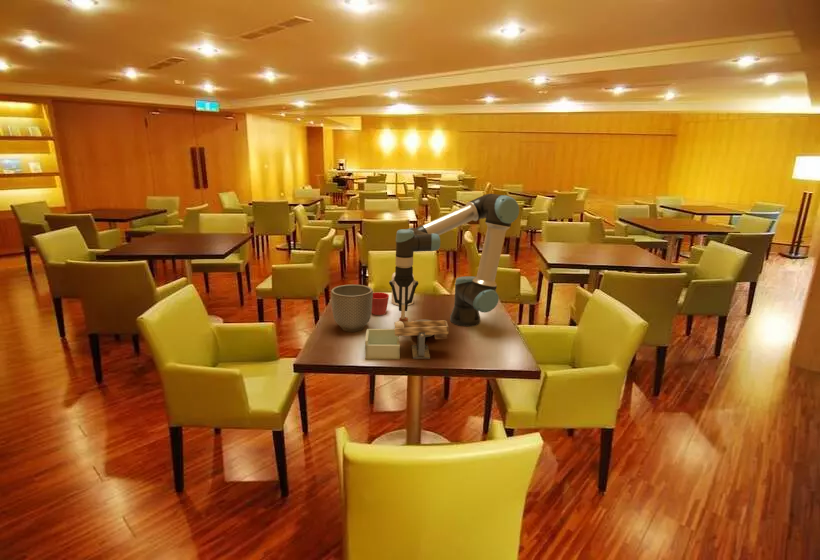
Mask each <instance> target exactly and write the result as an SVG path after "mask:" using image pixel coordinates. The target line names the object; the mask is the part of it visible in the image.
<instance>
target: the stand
mask: <svg viewBox="0 0 820 560" xmlns="http://www.w3.org/2000/svg"><path fill="white" fill-rule="evenodd" d="M416 336H417V337H416V339H417V341H416V344H412V345H411V353H412V359H413V360H430V359H431V354H430V349H429V345H428V344H426V343H425V342H426V337H425V332H419V335H416Z"/></svg>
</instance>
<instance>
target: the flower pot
mask: <svg viewBox="0 0 820 560" xmlns="http://www.w3.org/2000/svg"><path fill="white" fill-rule="evenodd" d="M389 298H390V295H389V294H388V293H385V292H373V302H372V313H371V315H374V316H383V315H385V314H386V313H387V308H388V304H389Z"/></svg>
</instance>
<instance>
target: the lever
mask: <svg viewBox="0 0 820 560" xmlns="http://www.w3.org/2000/svg"><path fill="white" fill-rule="evenodd" d="M398 321H402V322H403V323H404V328H395V327H394V329H395V336H399V337H404V336H405V337H406V336H417V335H419V332H425V335H432V336H433V337H434V340H445V339H446V340H448V335H449V324H448V321H447V320H444V319H443V320H432V321H416V320H415V321H416V322H414V321H409V317H407V316H405V319H401V317H398ZM396 322H397V321H395V322H394V324H395V323H396Z"/></svg>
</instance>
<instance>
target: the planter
mask: <svg viewBox="0 0 820 560" xmlns="http://www.w3.org/2000/svg"><path fill="white" fill-rule="evenodd" d="M373 293H374V291H373V288H372V287H370V286H367V285H363V284H344V285H343V284H342V285H337V286H334V287H333V288H332V289H331V290H330V299H331V310H332V315H333V319H334V322H335V323H336V324H337V325H338V326H339V327H340V328H341V330H343V331H344V332H349V333H351V332H352V333H353V332H354V333H355V332H359V331H362V330H363V329H364V328H365V326H367V324H368V323H369V322H370V319H371V318H372V302H373Z"/></svg>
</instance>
